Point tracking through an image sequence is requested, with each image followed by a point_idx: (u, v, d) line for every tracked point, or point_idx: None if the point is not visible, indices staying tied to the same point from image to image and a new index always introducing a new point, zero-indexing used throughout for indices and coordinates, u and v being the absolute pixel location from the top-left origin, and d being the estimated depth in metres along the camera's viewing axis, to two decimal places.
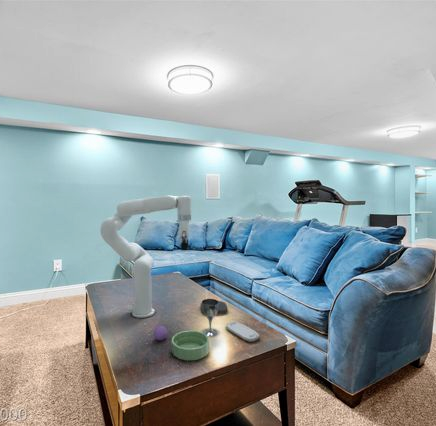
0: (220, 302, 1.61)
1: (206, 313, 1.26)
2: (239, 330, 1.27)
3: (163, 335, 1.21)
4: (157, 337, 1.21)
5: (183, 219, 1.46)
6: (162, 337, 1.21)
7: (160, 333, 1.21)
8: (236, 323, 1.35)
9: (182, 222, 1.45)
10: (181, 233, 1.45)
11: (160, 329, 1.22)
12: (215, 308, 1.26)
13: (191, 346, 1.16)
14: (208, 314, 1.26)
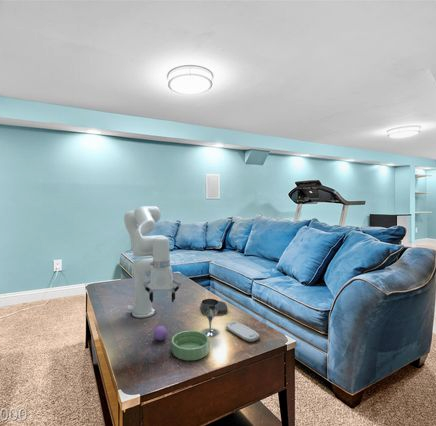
0: (220, 302, 1.61)
1: (206, 313, 1.26)
2: (239, 330, 1.27)
3: (163, 335, 1.21)
4: (157, 337, 1.21)
5: (169, 265, 1.23)
6: (162, 337, 1.21)
7: (160, 333, 1.21)
8: (236, 323, 1.35)
9: (171, 269, 1.23)
10: (172, 282, 1.22)
11: (160, 329, 1.22)
12: (215, 308, 1.26)
13: (191, 346, 1.16)
14: (208, 314, 1.26)
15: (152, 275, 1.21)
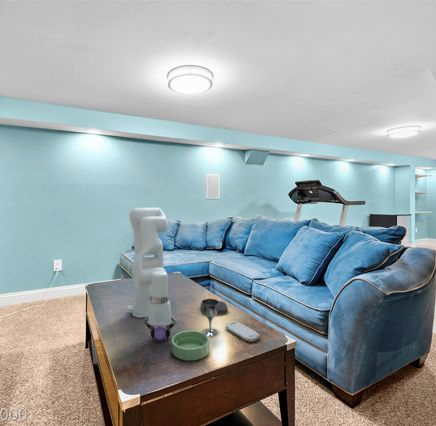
0: (220, 302, 1.61)
1: (206, 313, 1.26)
2: (239, 330, 1.27)
3: (163, 335, 1.21)
4: (157, 337, 1.21)
5: (167, 300, 1.22)
6: (162, 337, 1.21)
7: (160, 333, 1.21)
8: (236, 323, 1.35)
9: (169, 304, 1.22)
10: (170, 317, 1.21)
11: (160, 329, 1.22)
12: (215, 308, 1.26)
13: (191, 346, 1.16)
14: (208, 314, 1.26)
15: (150, 310, 1.20)
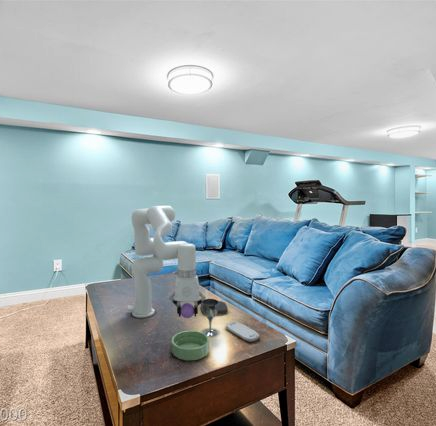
0: (220, 302, 1.61)
1: (206, 313, 1.26)
2: (239, 330, 1.27)
3: (191, 312, 1.11)
4: (184, 314, 1.11)
5: (195, 274, 1.13)
6: (190, 314, 1.11)
7: (188, 310, 1.11)
8: (236, 323, 1.35)
9: (197, 278, 1.12)
10: (199, 292, 1.12)
11: (187, 306, 1.12)
12: (215, 308, 1.26)
13: (191, 346, 1.16)
14: (208, 314, 1.26)
15: (177, 285, 1.11)
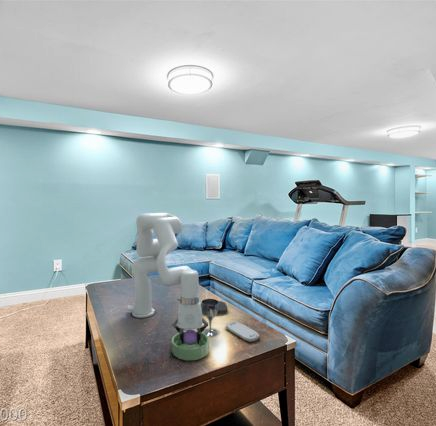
0: (220, 302, 1.61)
1: (206, 313, 1.26)
2: (239, 330, 1.27)
3: (194, 339, 1.11)
4: (187, 341, 1.11)
5: (198, 301, 1.13)
6: (193, 341, 1.11)
7: (191, 337, 1.11)
8: (236, 323, 1.35)
9: (200, 305, 1.12)
10: (202, 319, 1.12)
11: (190, 332, 1.12)
12: (215, 308, 1.26)
13: (191, 346, 1.16)
14: (208, 314, 1.26)
15: (180, 312, 1.11)
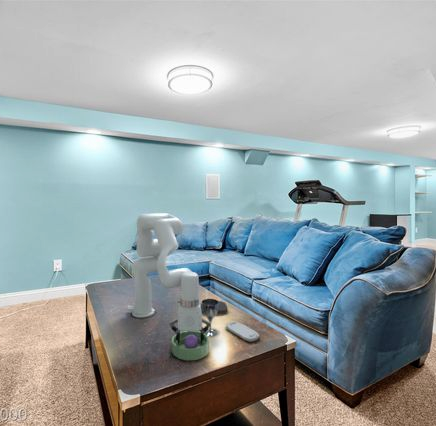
0: (220, 302, 1.61)
1: (206, 313, 1.26)
2: (239, 330, 1.27)
3: (195, 345, 1.11)
4: (188, 346, 1.11)
5: (198, 303, 1.13)
6: (194, 347, 1.11)
7: (192, 342, 1.11)
8: (236, 323, 1.35)
9: (200, 307, 1.12)
10: None
11: (192, 338, 1.12)
12: (215, 308, 1.26)
13: None
14: (208, 314, 1.26)
15: (180, 315, 1.11)
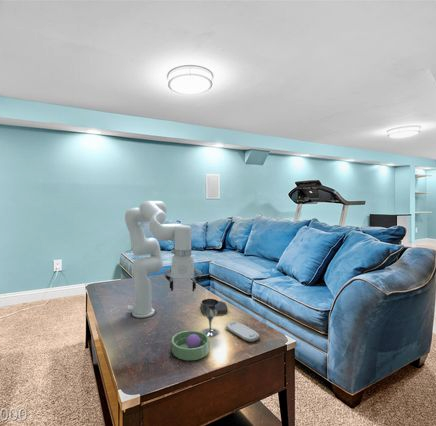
0: (220, 302, 1.61)
1: (206, 313, 1.26)
2: (239, 330, 1.27)
3: (197, 344, 1.12)
4: (190, 343, 1.12)
5: None
6: (195, 346, 1.12)
7: (195, 341, 1.12)
8: (236, 323, 1.35)
9: (192, 258, 1.20)
10: (193, 271, 1.20)
11: (196, 337, 1.13)
12: (215, 308, 1.26)
13: None
14: (208, 314, 1.26)
15: (173, 263, 1.19)
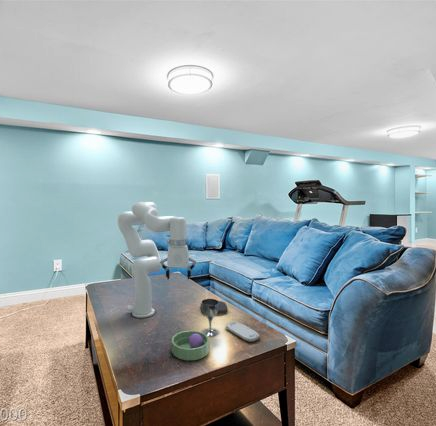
0: (220, 302, 1.61)
1: (206, 313, 1.26)
2: (239, 330, 1.27)
3: (199, 344, 1.13)
4: (194, 341, 1.12)
5: (185, 244, 1.28)
6: (197, 345, 1.12)
7: (199, 339, 1.13)
8: (236, 323, 1.35)
9: (187, 247, 1.27)
10: (188, 260, 1.27)
11: (200, 336, 1.14)
12: (215, 308, 1.26)
13: None
14: (208, 314, 1.26)
15: (169, 253, 1.26)
